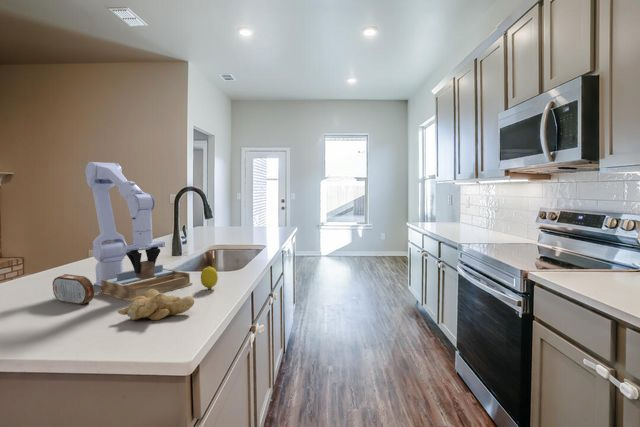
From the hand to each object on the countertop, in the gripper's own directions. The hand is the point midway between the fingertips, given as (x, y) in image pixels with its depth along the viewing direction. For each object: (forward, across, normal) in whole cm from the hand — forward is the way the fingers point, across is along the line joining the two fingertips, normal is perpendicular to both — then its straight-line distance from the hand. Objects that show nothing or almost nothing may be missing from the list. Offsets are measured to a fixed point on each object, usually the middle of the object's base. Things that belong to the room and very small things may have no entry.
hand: (144, 271), depth 119 cm
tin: (+7, -17, +10) cm, 21 cm away
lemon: (+7, +14, -15) cm, 22 cm away
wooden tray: (+7, +4, +4) cm, 9 cm away
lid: (+4, +3, +8) cm, 10 cm away
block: (+2, 0, 0) cm, 2 cm away
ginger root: (+8, -11, -23) cm, 27 cm away
